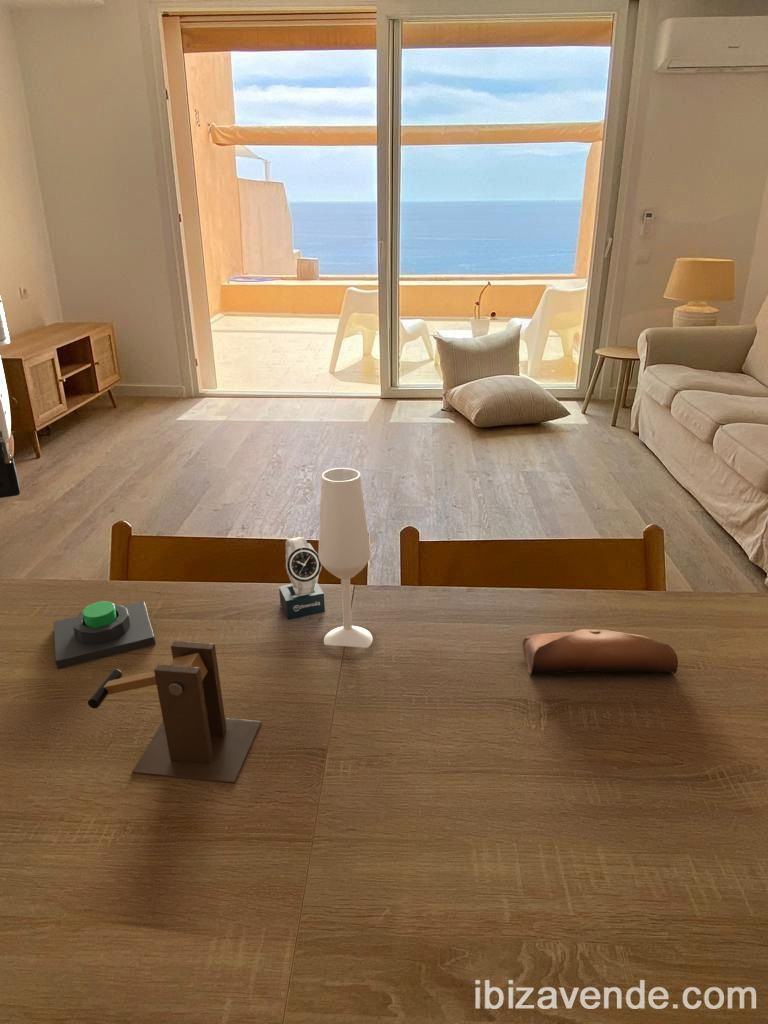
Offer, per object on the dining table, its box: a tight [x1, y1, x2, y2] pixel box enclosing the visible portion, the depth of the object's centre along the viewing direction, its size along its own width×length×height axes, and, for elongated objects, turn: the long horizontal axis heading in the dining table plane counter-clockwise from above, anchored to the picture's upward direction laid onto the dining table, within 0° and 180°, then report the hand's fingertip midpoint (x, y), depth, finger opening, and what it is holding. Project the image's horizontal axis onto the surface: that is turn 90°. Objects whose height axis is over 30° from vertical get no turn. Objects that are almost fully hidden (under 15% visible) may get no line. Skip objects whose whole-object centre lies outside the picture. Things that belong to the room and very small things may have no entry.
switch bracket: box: [131, 640, 262, 784], centre depth 72 cm, size 11×9×13 cm
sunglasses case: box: [522, 628, 679, 675], centre depth 88 cm, size 18×7×7 cm
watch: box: [278, 536, 326, 621], centre depth 99 cm, size 6×8×11 cm
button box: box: [53, 600, 157, 670], centre depth 94 cm, size 12×10×4 cm
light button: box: [82, 600, 117, 628], centre depth 92 cm, size 4×4×2 cm
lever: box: [87, 653, 208, 709], centre depth 72 cm, size 12×5×2 cm, turn 81°
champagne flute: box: [317, 467, 374, 649], centre depth 89 cm, size 7×7×24 cm
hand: (4, 494), depth 79 cm, fingers closed
